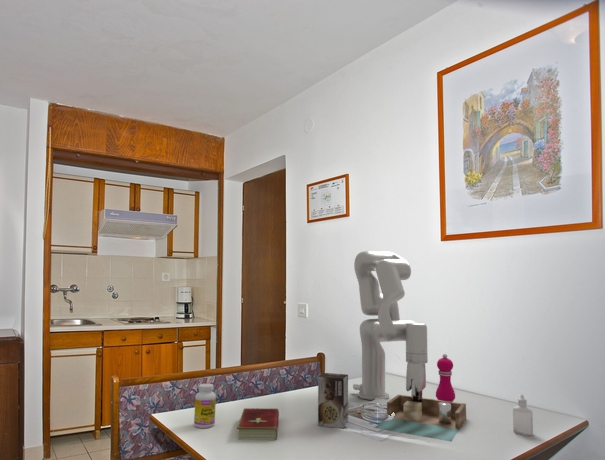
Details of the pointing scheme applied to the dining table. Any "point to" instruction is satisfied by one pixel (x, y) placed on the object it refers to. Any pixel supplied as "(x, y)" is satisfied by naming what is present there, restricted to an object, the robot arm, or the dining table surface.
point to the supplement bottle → (205, 406)
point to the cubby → (424, 419)
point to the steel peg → (444, 413)
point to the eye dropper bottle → (522, 418)
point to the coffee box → (332, 400)
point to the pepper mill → (445, 380)
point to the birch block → (412, 411)
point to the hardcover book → (258, 424)
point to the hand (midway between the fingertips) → (417, 410)
